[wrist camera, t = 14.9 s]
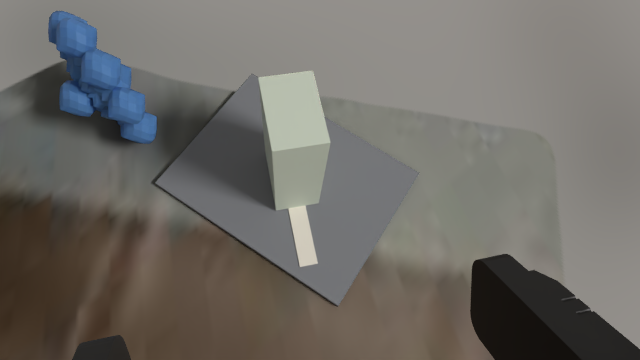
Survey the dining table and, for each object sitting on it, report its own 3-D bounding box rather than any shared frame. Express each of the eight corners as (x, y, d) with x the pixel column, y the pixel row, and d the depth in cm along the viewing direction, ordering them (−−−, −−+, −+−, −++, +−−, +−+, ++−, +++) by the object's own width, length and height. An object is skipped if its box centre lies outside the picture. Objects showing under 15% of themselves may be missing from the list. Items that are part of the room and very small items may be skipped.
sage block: (275, 210, 40) (272, 151, 29) (265, 152, 43) (258, 77, 32) (318, 203, 41) (330, 142, 30) (306, 146, 43) (312, 70, 32)
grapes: (57, 101, 44) (-19, 12, 33) (118, 67, 46) (65, -28, 35) (121, 185, 41) (61, 118, 30) (183, 144, 43) (147, 67, 32)
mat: (156, 185, 41) (154, 182, 41) (252, 76, 47) (251, 72, 46) (337, 306, 38) (338, 305, 38) (417, 175, 44) (419, 172, 43)
